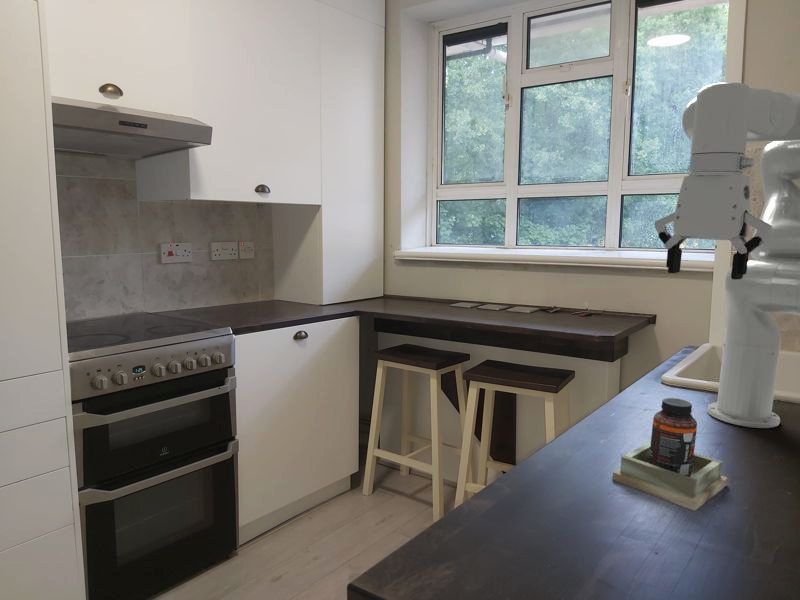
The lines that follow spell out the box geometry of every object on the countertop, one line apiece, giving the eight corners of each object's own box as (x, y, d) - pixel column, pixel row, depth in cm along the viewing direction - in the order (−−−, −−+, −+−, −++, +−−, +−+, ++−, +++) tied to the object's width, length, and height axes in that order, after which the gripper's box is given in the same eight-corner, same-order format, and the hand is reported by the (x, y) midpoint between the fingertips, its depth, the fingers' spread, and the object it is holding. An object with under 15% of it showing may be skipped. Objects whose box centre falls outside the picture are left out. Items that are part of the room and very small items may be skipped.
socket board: (648, 458, 96) (650, 437, 96) (726, 485, 88) (729, 461, 87) (612, 479, 88) (614, 456, 88) (694, 511, 80) (697, 485, 79)
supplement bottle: (696, 485, 85) (705, 410, 83) (653, 480, 86) (661, 406, 84) (684, 467, 91) (692, 397, 89) (643, 463, 92) (650, 393, 90)
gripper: (786, 167, 88) (772, 280, 90) (670, 170, 100) (660, 269, 103) (770, 163, 83) (756, 283, 85) (650, 167, 95) (641, 271, 98)
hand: (704, 275), depth 94 cm, fingers open, 9 cm apart
